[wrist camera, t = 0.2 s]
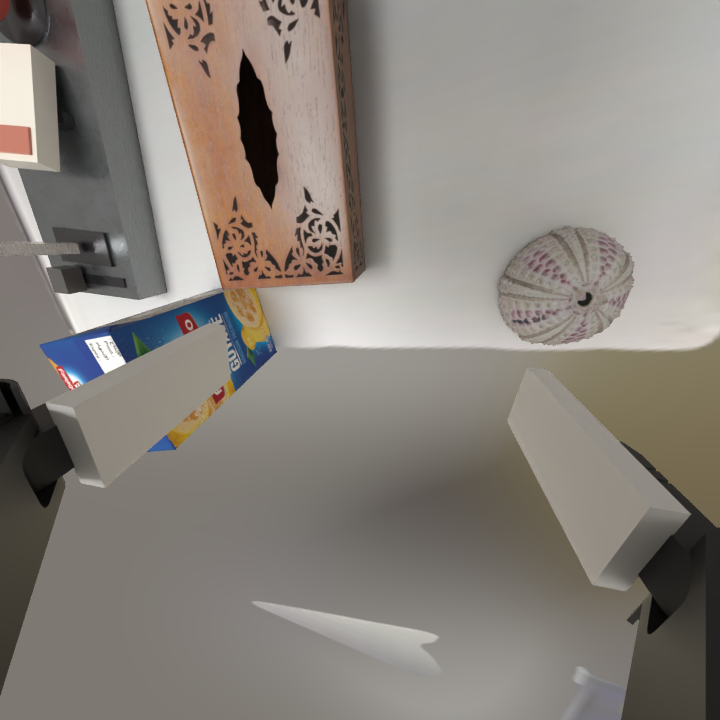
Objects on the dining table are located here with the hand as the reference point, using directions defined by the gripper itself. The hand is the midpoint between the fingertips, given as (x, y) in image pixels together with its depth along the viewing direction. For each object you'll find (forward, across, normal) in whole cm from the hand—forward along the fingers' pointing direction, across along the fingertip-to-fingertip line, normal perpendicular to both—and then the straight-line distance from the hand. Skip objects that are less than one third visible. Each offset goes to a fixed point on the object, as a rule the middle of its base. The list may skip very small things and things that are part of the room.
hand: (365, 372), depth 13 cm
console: (+28, -39, +10) cm, 49 cm away
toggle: (+22, -39, 0) cm, 45 cm away
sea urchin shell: (+28, +19, +1) cm, 34 cm away
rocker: (+20, -39, +13) cm, 46 cm away
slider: (+22, -41, -4) cm, 47 cm away
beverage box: (+28, -21, -9) cm, 36 cm away
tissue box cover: (+28, -13, +12) cm, 33 cm away
